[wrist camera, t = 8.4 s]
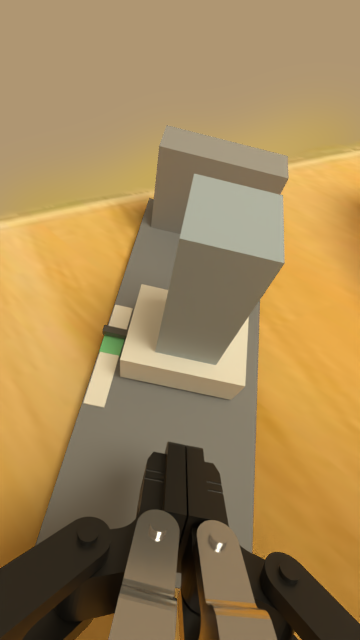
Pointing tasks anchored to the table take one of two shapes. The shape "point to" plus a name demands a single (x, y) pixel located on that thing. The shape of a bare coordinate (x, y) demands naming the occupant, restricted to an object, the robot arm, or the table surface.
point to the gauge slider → (207, 292)
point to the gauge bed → (156, 400)
